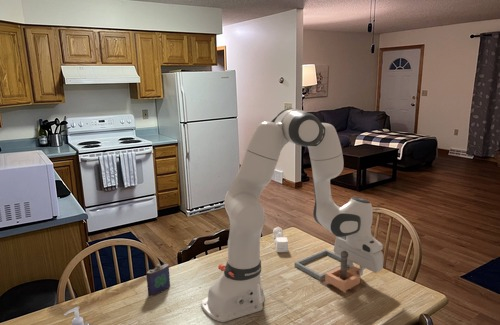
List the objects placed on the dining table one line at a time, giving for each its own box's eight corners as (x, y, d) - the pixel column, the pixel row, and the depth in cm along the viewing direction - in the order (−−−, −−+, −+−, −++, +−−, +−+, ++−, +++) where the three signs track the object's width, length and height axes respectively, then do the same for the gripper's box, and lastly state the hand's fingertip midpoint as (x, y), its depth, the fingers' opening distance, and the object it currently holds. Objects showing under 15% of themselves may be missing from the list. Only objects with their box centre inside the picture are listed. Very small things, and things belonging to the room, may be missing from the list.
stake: (345, 300, 128) (347, 262, 125) (319, 285, 137) (320, 249, 134) (366, 288, 135) (368, 252, 132) (340, 275, 144) (342, 241, 141)
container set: (288, 252, 164) (288, 241, 163) (276, 253, 164) (276, 241, 163) (282, 234, 183) (282, 224, 182) (272, 234, 183) (272, 224, 182)
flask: (167, 284, 139) (166, 258, 137) (172, 287, 137) (170, 260, 135) (146, 294, 132) (144, 267, 130) (151, 297, 130) (148, 270, 128)
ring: (344, 291, 129) (344, 283, 129) (324, 280, 136) (325, 273, 136) (368, 278, 138) (368, 271, 137) (348, 269, 145) (349, 262, 144)
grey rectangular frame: (320, 283, 139) (320, 276, 138) (294, 268, 150) (294, 262, 149) (351, 267, 150) (352, 261, 149) (325, 255, 161) (325, 249, 160)
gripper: (331, 232, 143) (329, 264, 146) (376, 251, 127) (373, 287, 130) (341, 228, 147) (339, 260, 150) (387, 246, 131) (384, 281, 134)
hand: (355, 272), depth 140 cm, fingers closed on ring, 2 cm apart
